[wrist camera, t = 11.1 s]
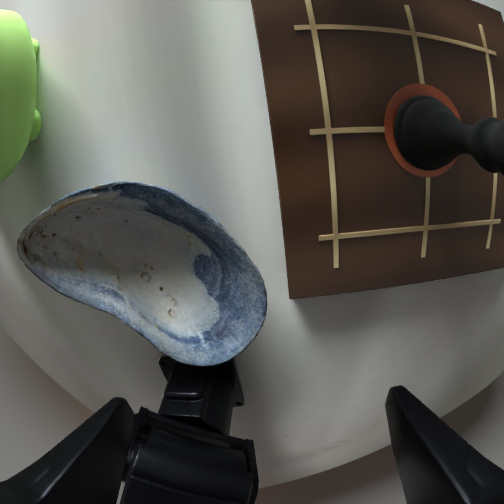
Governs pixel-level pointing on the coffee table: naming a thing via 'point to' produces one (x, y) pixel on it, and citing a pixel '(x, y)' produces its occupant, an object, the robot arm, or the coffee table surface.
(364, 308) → the coffee table surface
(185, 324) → the seashell
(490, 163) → the chess piece
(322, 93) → the board
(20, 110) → the teapot
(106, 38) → the coffee table surface
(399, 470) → the robot arm
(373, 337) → the coffee table surface
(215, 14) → the coffee table surface
